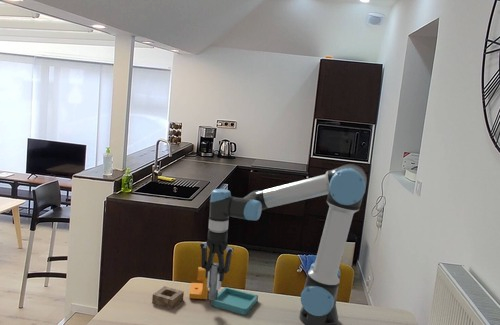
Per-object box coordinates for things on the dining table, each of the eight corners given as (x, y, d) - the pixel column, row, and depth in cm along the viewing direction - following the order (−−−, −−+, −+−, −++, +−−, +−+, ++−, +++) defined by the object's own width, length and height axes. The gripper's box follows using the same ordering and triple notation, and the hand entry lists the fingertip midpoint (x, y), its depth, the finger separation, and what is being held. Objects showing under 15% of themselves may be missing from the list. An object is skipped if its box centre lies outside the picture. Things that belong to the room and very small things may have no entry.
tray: (257, 301, 192) (258, 295, 191) (245, 315, 179) (246, 309, 178) (225, 292, 197) (225, 286, 196) (211, 305, 184) (211, 299, 183)
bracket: (190, 288, 197) (192, 262, 195) (207, 289, 198) (209, 263, 196) (189, 299, 186) (191, 272, 185) (206, 301, 187) (209, 273, 185)
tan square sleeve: (183, 299, 186) (183, 291, 186) (171, 308, 178) (172, 300, 177) (163, 294, 189) (164, 286, 189) (152, 302, 181) (152, 294, 180)
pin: (218, 297, 179) (221, 263, 177) (215, 301, 176) (217, 266, 174) (211, 295, 180) (213, 262, 178) (207, 299, 177) (209, 265, 175)
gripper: (241, 230, 175) (237, 288, 178) (203, 223, 180) (199, 279, 184) (234, 236, 168) (229, 295, 171) (194, 228, 173) (190, 286, 177)
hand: (213, 287), depth 178 cm, fingers closed on pin, 3 cm apart
